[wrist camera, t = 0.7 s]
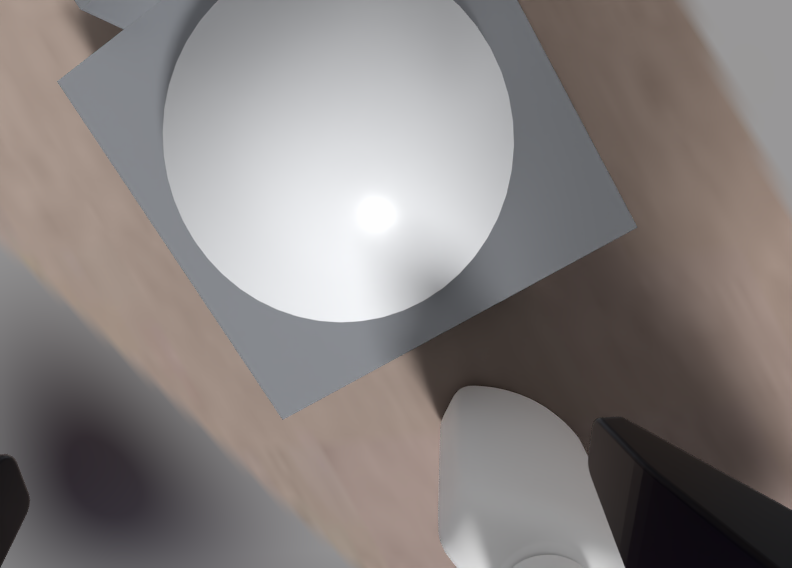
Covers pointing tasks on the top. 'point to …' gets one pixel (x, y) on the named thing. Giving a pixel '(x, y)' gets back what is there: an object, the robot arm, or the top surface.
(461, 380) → the top surface
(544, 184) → the dial scale
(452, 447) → the eye dropper bottle
